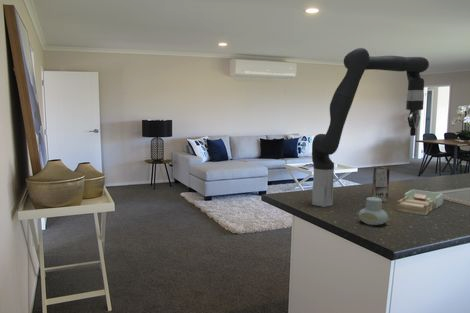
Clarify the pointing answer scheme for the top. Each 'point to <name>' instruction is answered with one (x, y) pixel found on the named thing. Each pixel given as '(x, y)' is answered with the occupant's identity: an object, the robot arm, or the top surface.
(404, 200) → the beige shallow box
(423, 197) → the tile
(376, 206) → the air freshener
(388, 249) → the top surface
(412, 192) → the tray
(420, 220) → the top surface
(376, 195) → the coffee box
